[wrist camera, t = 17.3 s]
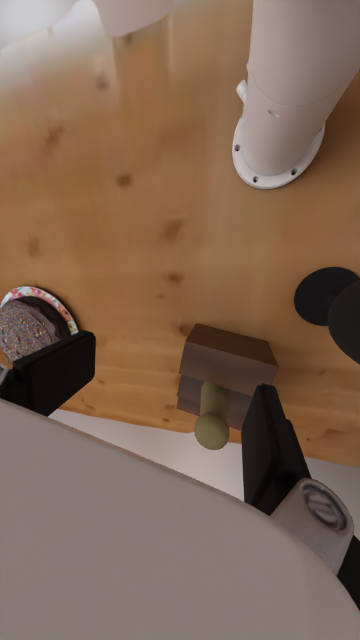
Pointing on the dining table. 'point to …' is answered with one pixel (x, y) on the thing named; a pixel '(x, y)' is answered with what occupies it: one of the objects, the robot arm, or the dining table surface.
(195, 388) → the spice rack
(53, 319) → the chocolate cake
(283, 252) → the dining table surface
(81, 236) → the dining table surface
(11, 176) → the dining table surface
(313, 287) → the wine glass
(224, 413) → the olive peg figure
